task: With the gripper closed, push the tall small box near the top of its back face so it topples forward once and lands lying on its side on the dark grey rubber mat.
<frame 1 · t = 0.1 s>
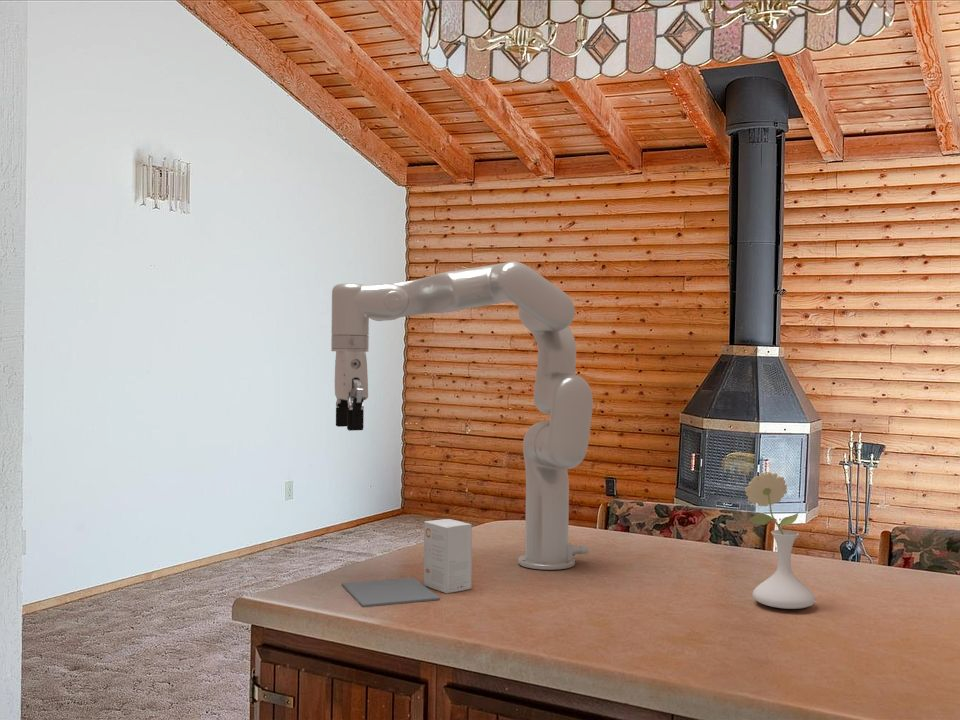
hand: (349, 428, 193), 31 cm above the worktop, tool pointing down, fingers open, 9 cm apart
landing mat: (389, 592, 185), on the worktop
flower in vase: (779, 606, 178), on the worktop
small box: (447, 588, 189), on the worktop
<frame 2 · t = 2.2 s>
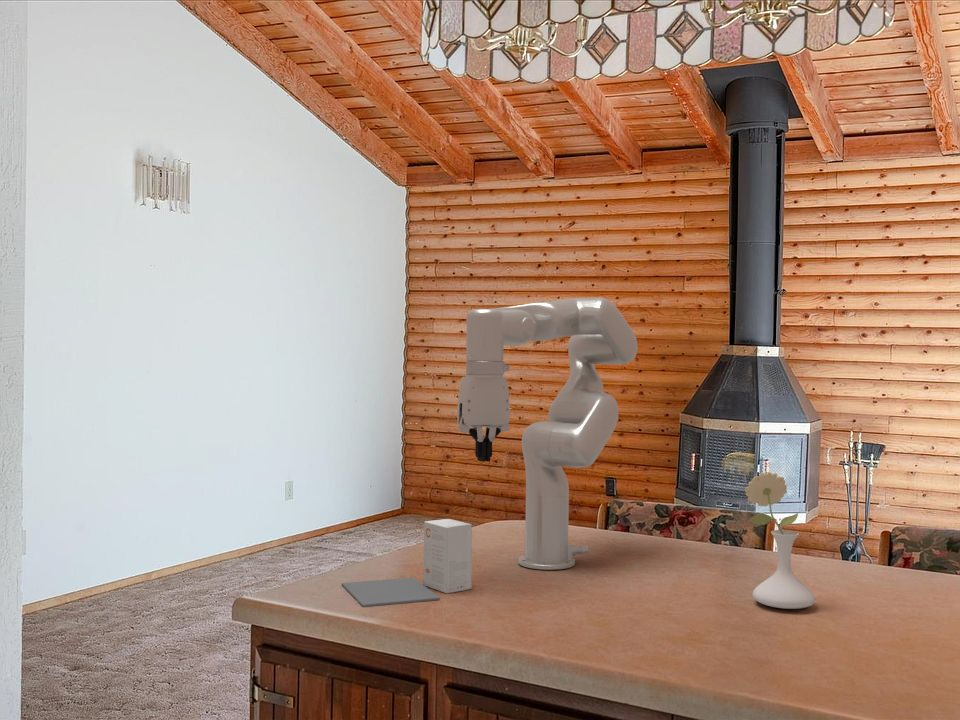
hand: (483, 460, 191), 25 cm above the worktop, tool pointing down, fingers closed
nothing on the worktop moved.
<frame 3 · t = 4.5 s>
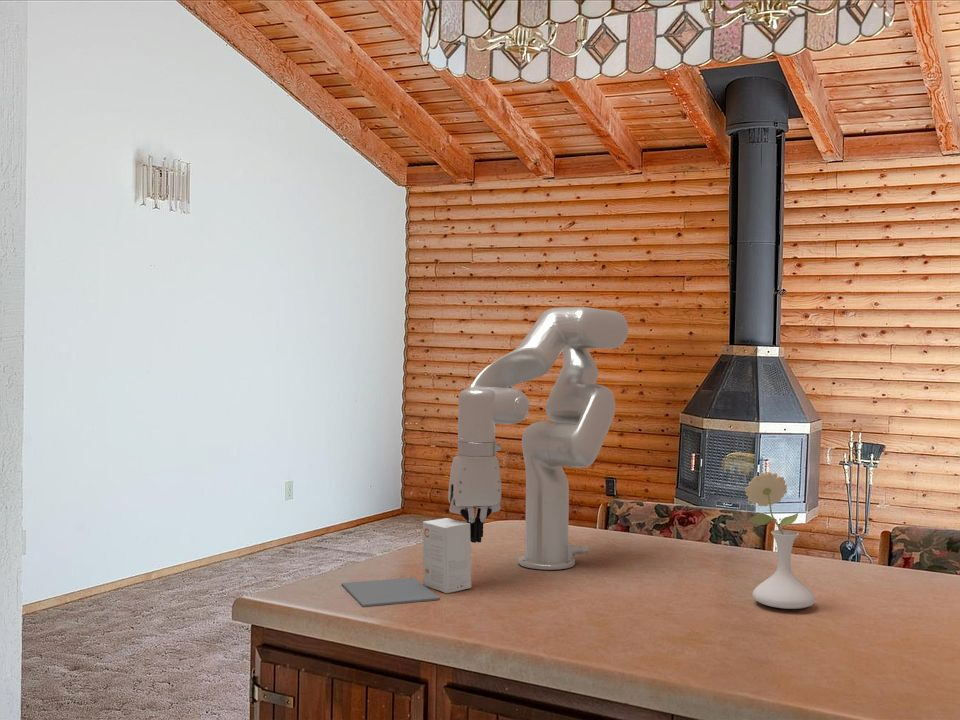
hand: (474, 541, 191), 9 cm above the worktop, tool pointing down, fingers closed
small box: (447, 588, 189), on the worktop, touching gripper
everything else where it was.
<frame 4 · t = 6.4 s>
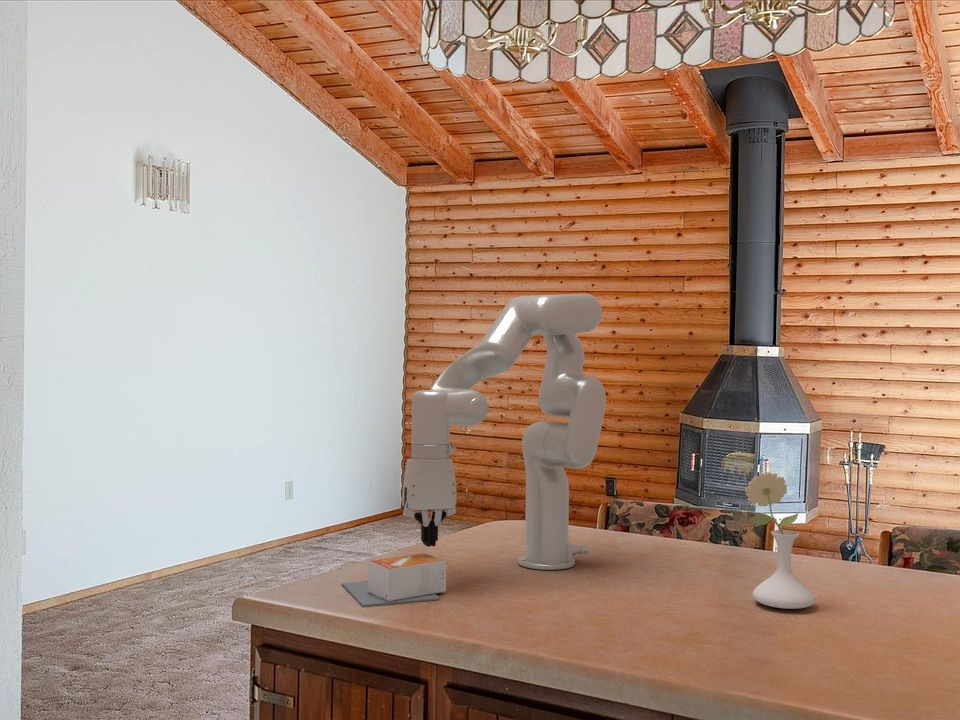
hand: (429, 545, 187), 9 cm above the worktop, tool pointing down, fingers closed
small box: (436, 571, 187), point 4 cm above the worktop, touching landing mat
everything else where it was.
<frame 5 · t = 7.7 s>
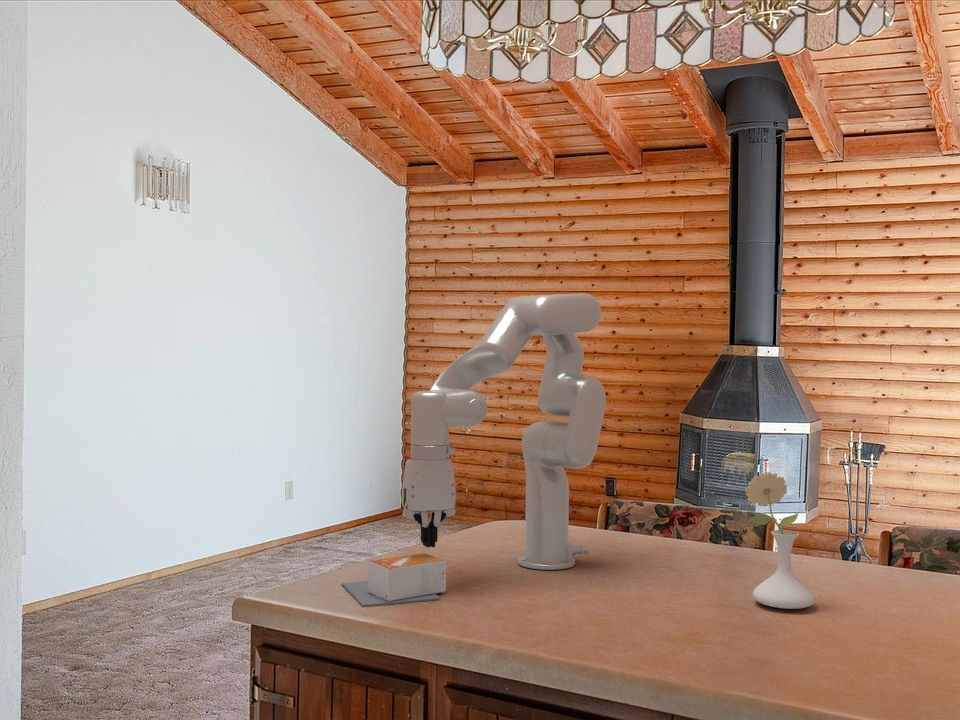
hand: (428, 545, 188), 9 cm above the worktop, tool pointing down, fingers closed
nothing on the worktop moved.
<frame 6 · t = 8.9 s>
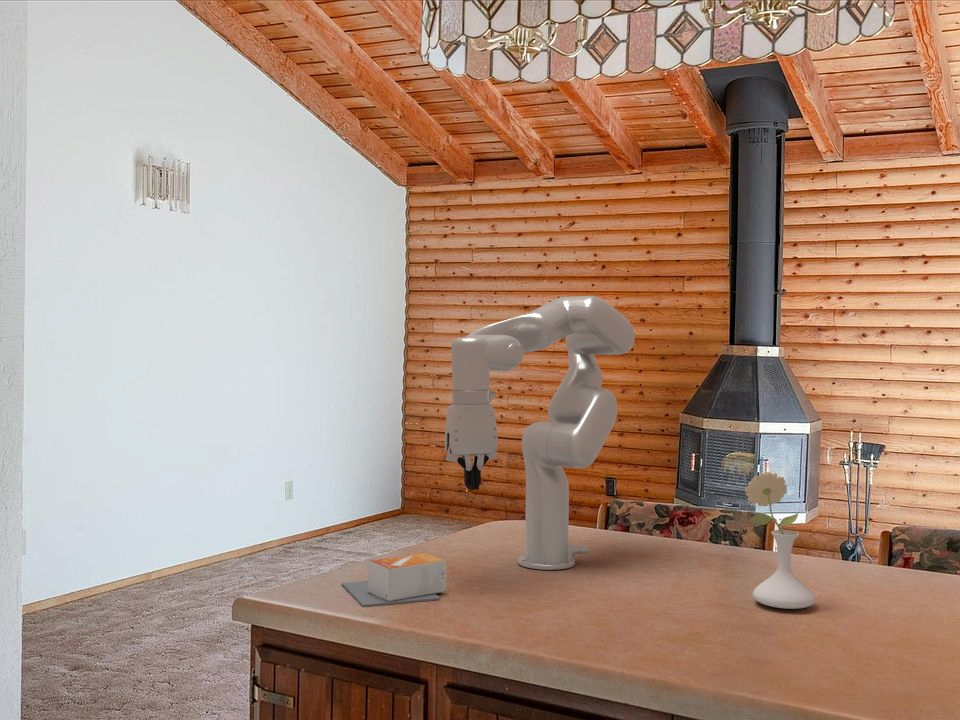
hand: (472, 488, 191), 19 cm above the worktop, tool pointing down, fingers closed
nothing on the worktop moved.
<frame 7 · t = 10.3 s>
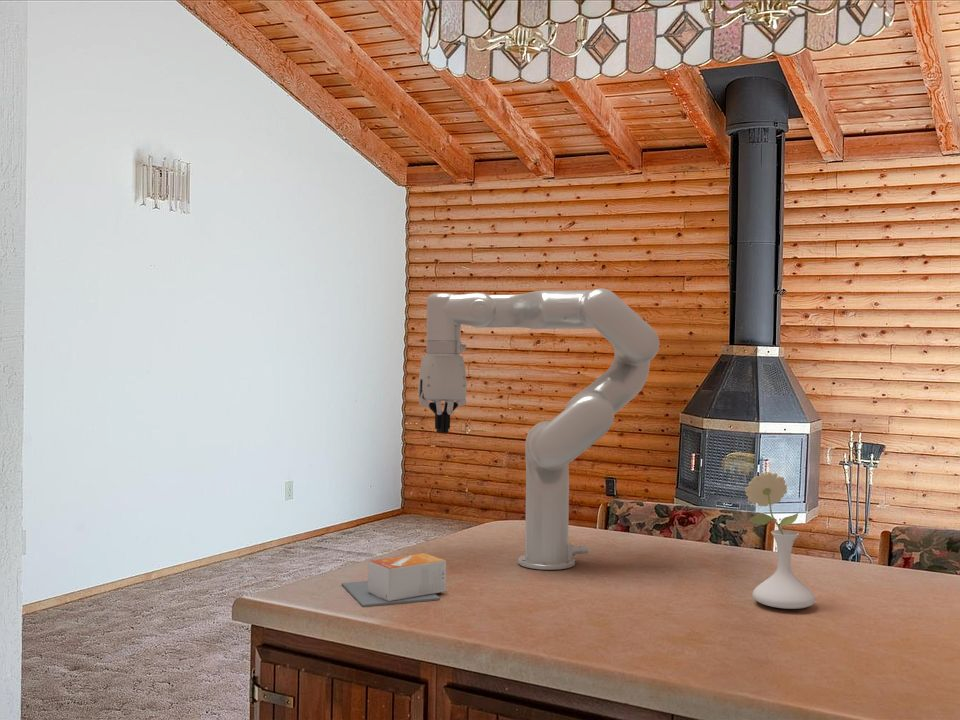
hand: (442, 432, 209), 29 cm above the worktop, tool pointing down, fingers closed
nothing on the worktop moved.
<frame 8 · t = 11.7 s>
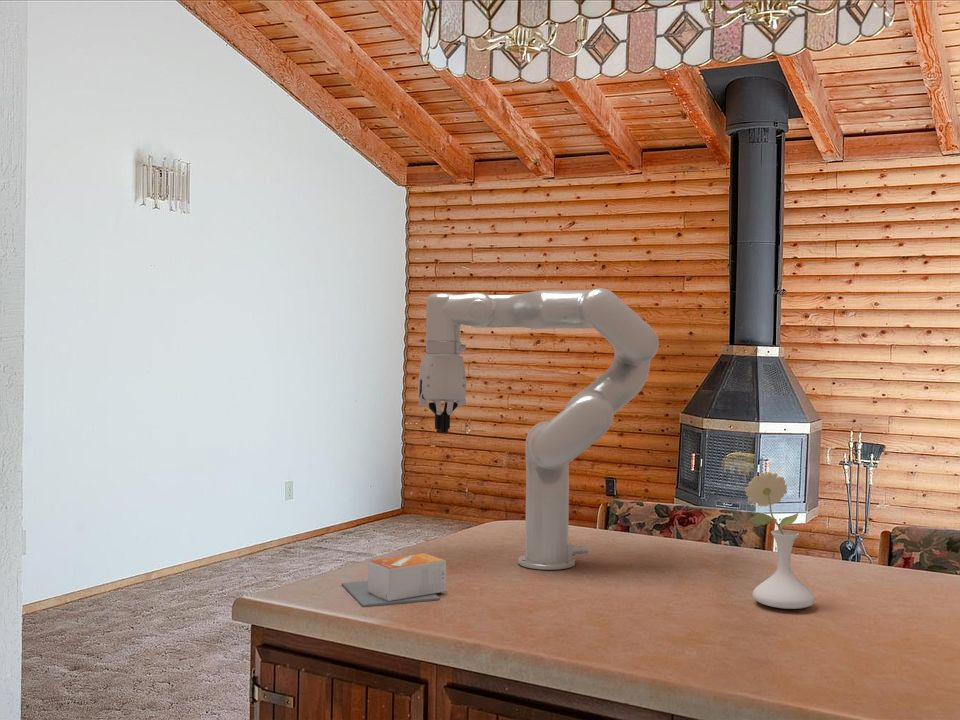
hand: (442, 432, 209), 29 cm above the worktop, tool pointing down, fingers closed
nothing on the worktop moved.
at the end: small box tilted 90°; small box touching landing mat; the gripper is holding nothing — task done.
